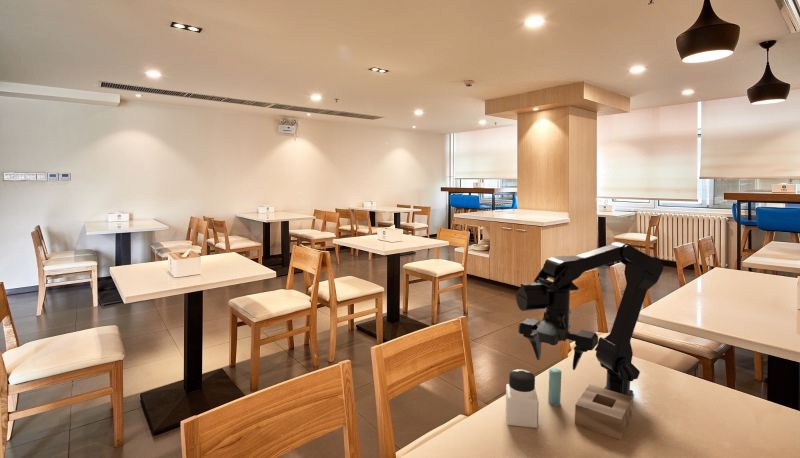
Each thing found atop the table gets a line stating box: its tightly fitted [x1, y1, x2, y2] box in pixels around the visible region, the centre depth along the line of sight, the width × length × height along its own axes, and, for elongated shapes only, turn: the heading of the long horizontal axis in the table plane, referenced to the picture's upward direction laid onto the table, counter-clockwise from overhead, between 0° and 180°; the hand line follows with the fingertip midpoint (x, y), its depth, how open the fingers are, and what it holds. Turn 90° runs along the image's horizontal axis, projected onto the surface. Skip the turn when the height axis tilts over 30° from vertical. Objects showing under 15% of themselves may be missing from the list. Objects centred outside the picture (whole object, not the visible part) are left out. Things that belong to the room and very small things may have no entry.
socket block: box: [574, 383, 633, 441], centre depth 100 cm, size 12×10×5 cm
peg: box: [547, 367, 562, 407], centre depth 107 cm, size 3×3×9 cm
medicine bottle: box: [505, 369, 540, 429], centre depth 100 cm, size 7×7×12 cm
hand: (555, 364), depth 106 cm, fingers open, 9 cm apart
